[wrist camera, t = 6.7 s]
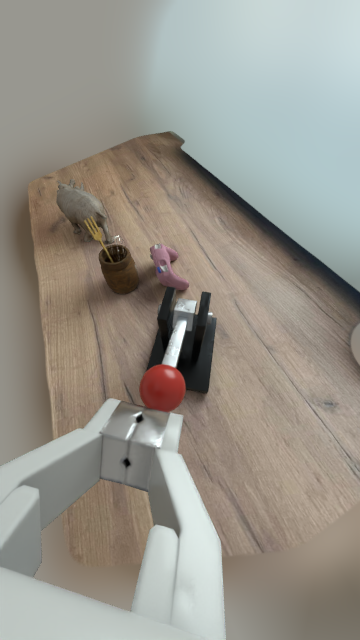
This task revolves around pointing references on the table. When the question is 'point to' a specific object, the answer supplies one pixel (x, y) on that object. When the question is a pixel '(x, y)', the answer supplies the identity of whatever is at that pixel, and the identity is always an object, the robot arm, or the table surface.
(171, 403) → the lever
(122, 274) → the utensil holder
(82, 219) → the rhinoceros figurine
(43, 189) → the table surface
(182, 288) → the pink toy car
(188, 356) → the bracket
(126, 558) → the table surface
